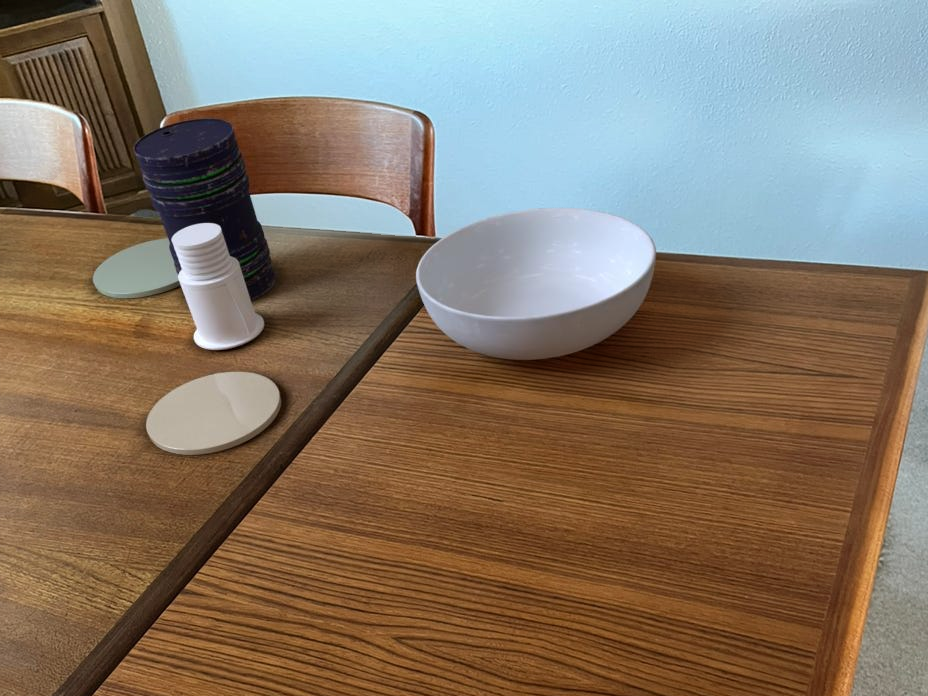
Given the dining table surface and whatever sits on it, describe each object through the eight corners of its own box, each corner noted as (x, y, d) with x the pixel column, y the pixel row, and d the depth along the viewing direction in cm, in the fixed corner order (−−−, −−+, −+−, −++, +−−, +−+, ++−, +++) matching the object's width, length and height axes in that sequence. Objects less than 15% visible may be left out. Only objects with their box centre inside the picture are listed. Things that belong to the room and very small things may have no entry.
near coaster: (128, 457, 83) (125, 451, 82) (175, 379, 91) (172, 373, 90) (260, 453, 81) (258, 447, 80) (296, 374, 89) (294, 368, 88)
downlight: (178, 340, 96) (140, 241, 89) (231, 308, 99) (199, 210, 92) (228, 360, 92) (193, 259, 85) (282, 326, 95) (252, 226, 88)
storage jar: (296, 276, 102) (255, 127, 92) (223, 318, 98) (171, 165, 87) (239, 256, 108) (194, 112, 97) (167, 294, 103) (112, 148, 92)
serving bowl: (699, 343, 84) (703, 267, 79) (479, 420, 80) (468, 345, 75) (589, 253, 98) (586, 184, 93) (397, 315, 94) (383, 246, 89)
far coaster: (76, 301, 105) (73, 296, 104) (120, 246, 114) (118, 241, 113) (187, 295, 103) (185, 289, 102) (224, 239, 111) (222, 234, 111)
